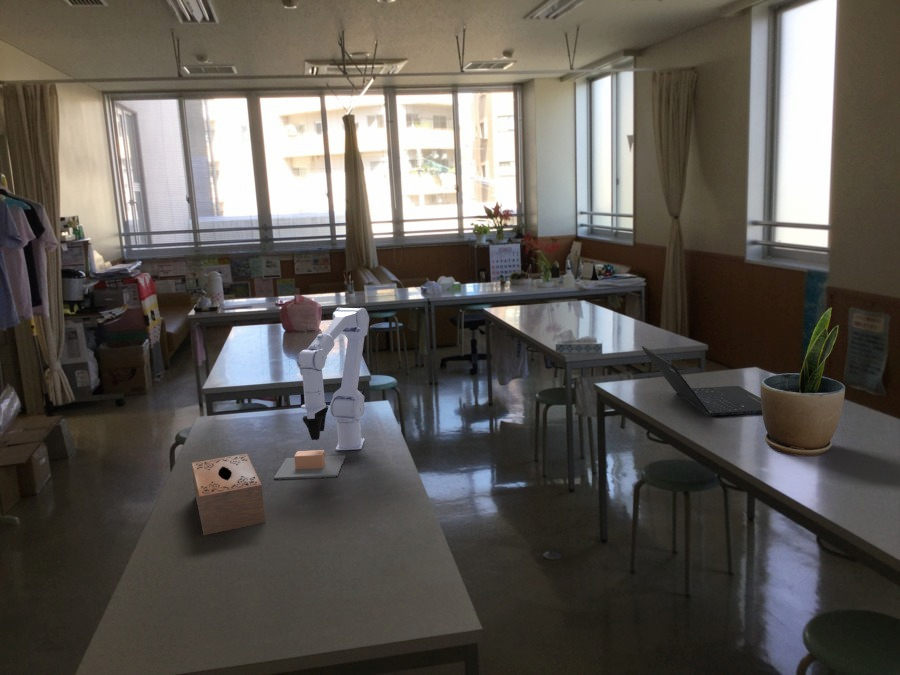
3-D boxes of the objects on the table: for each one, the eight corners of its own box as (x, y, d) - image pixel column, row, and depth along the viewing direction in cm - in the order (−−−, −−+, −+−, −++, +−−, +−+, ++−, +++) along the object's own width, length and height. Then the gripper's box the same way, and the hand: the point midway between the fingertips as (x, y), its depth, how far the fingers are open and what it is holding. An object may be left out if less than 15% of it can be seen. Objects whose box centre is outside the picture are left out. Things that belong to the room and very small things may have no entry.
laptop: (781, 414, 244) (783, 357, 240) (670, 421, 242) (670, 364, 239) (738, 389, 276) (740, 339, 273) (640, 395, 275) (640, 344, 271)
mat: (286, 459, 222) (286, 457, 222) (345, 457, 222) (345, 455, 222) (273, 479, 207) (273, 477, 207) (337, 476, 206) (337, 474, 206)
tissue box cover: (265, 523, 179) (261, 484, 177) (203, 536, 174) (199, 496, 172) (250, 487, 202) (247, 453, 201) (195, 498, 197) (191, 462, 195)
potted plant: (833, 465, 197) (841, 319, 189) (750, 452, 210) (754, 314, 202) (847, 443, 213) (855, 307, 206) (769, 431, 226) (773, 303, 219)
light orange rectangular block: (325, 462, 216) (324, 449, 216) (323, 468, 212) (321, 455, 211) (298, 464, 216) (297, 451, 216) (295, 469, 212) (294, 456, 211)
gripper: (305, 384, 219) (309, 427, 222) (294, 397, 205) (299, 444, 208) (328, 383, 219) (332, 426, 222) (319, 396, 205) (323, 442, 207)
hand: (317, 435), depth 215 cm, fingers open, 7 cm apart
